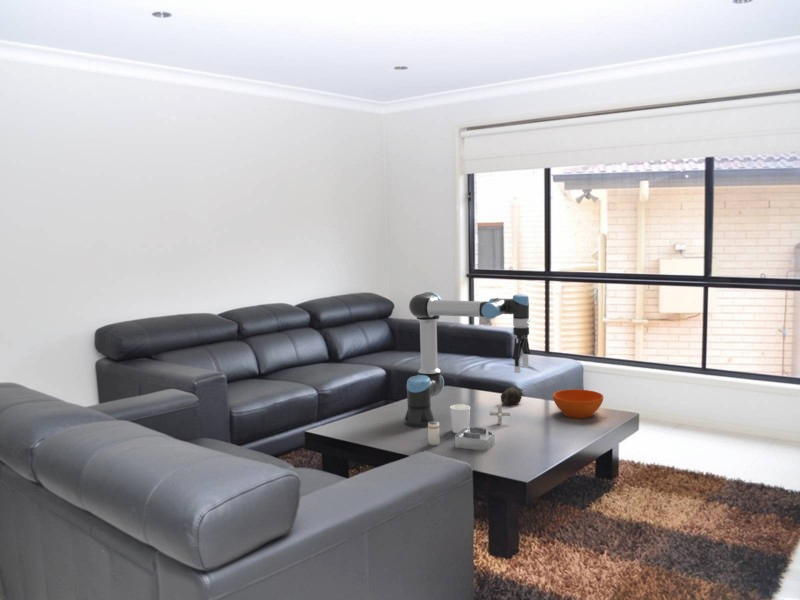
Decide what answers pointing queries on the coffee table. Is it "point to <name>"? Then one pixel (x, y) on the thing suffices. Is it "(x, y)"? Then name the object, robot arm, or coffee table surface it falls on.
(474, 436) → the cradle fixture plate
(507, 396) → the rock
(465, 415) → the candle holder
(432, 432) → the cream flashlight
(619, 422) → the coffee table surface
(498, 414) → the pipe connector
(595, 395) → the bowl
